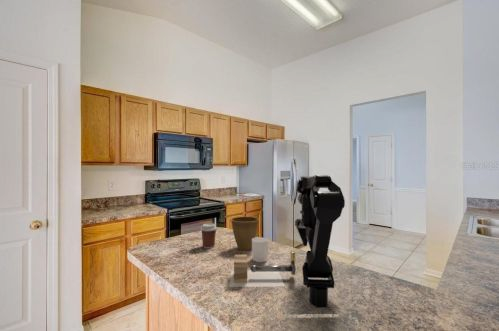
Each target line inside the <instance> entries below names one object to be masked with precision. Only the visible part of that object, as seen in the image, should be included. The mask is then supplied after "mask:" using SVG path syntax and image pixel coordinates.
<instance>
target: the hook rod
mask: <svg viewBox="0 0 499 331" xmlns="http://www.w3.org/2000/svg"><path fill="white" fill-rule="evenodd" d="M250 270H251V271H252V272H280V273H281V272H282V273H283V272H284V273H286V272H289V273H290V274H291V276H295V275H296V252H295V251H290V265H289V264H287V265H279V264H278V265H255V264H253V265H251V266H250Z"/></svg>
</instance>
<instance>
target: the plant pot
mask: <svg viewBox="0 0 499 331" xmlns="http://www.w3.org/2000/svg"><path fill="white" fill-rule="evenodd" d="M230 221H231V228H232V232H233V236H234V240H235V244H236V246H237V249H238V250H241V251H250V250H252V239H253V238H256V237H257V231H258V227H259V226H258V225H259V218H257V217H256V216H254V217H253V216H236V217H232V218H231V220H230Z"/></svg>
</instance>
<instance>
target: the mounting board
mask: <svg viewBox="0 0 499 331" xmlns="http://www.w3.org/2000/svg"><path fill="white" fill-rule="evenodd" d="M285 286H286V285H285V283H284V281H283V277H282V275H281V272H252V271H251V269H247V283H234V269H231V270H230V278H229V286H228V287H229V288H248V287H249V288H255V287H256V288H257V287H259V288H262V287H263V288H270V287H271V288H272V287H274V288H276V287H278V288H279V287H280V288H281V287H283V288H285Z"/></svg>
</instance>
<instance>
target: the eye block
mask: <svg viewBox="0 0 499 331" xmlns="http://www.w3.org/2000/svg"><path fill="white" fill-rule="evenodd" d="M233 270H234V283H247V270H248V254H234V259H233Z"/></svg>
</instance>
